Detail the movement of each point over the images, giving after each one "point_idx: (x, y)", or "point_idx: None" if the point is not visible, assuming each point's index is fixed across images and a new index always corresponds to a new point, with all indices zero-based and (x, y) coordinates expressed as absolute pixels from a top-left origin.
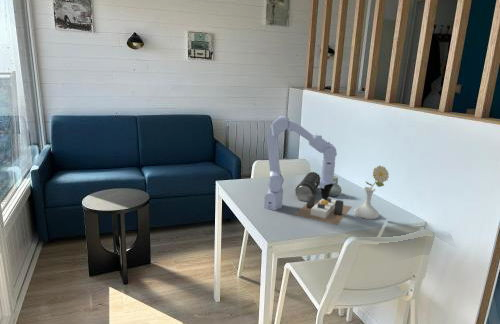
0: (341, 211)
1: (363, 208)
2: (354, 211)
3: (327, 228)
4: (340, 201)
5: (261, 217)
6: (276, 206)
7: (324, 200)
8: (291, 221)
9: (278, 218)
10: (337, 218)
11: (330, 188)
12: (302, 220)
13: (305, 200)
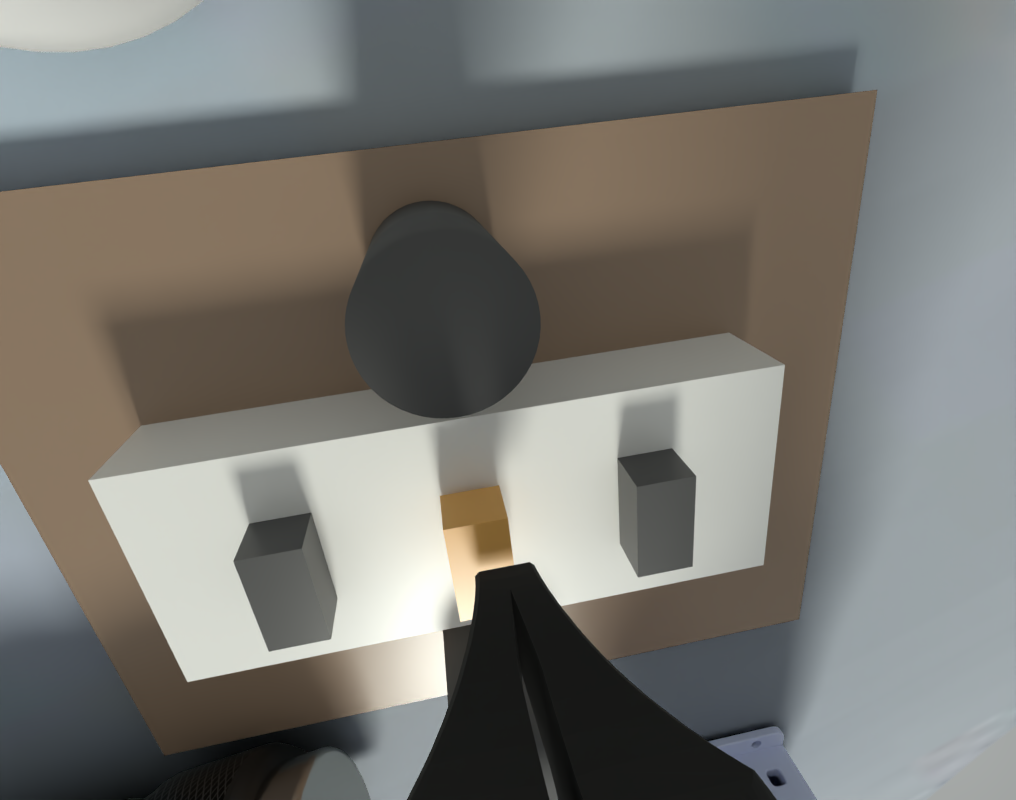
0: (458, 210)
1: None
2: (169, 1)
3: (940, 185)
4: (423, 314)
5: (925, 727)
6: (790, 790)
7: (465, 586)
8: (907, 553)
9: (889, 651)
10: (630, 191)
11: (656, 775)
12: (837, 501)
13: (343, 757)
